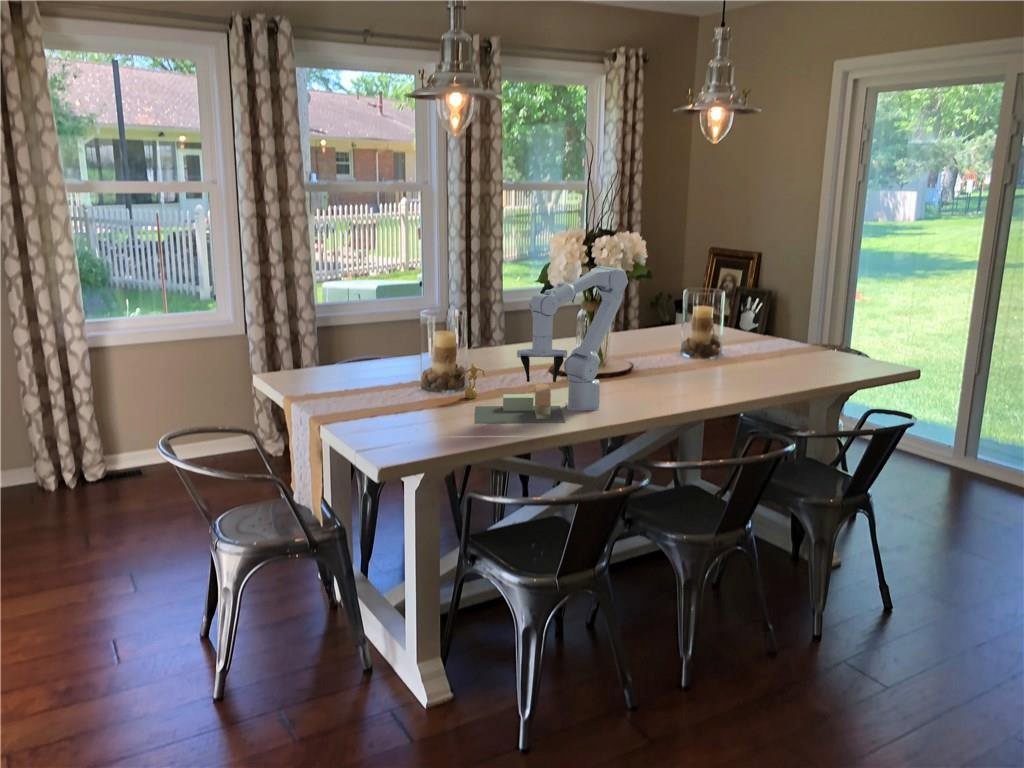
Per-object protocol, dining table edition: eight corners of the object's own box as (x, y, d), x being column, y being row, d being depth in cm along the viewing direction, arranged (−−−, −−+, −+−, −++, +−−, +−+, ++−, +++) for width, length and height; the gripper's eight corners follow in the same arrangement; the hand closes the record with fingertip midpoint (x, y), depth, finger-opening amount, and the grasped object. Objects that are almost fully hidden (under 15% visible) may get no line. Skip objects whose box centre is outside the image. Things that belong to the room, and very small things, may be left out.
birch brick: (548, 409, 251) (548, 397, 250) (550, 418, 242) (550, 405, 241) (534, 409, 251) (534, 397, 250) (536, 418, 242) (536, 405, 241)
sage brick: (532, 406, 254) (532, 394, 253) (533, 410, 250) (533, 397, 249) (503, 407, 254) (503, 394, 253) (503, 410, 250) (503, 397, 249)
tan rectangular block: (548, 397, 250) (548, 384, 249) (550, 405, 241) (550, 391, 240) (535, 397, 250) (535, 384, 249) (536, 405, 241) (536, 392, 240)
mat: (560, 406, 256) (560, 405, 256) (565, 424, 238) (565, 422, 238) (475, 407, 255) (475, 406, 255) (474, 424, 237) (474, 423, 237)
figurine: (480, 396, 268) (480, 359, 265) (488, 400, 263) (488, 363, 260) (456, 399, 264) (456, 362, 261) (464, 403, 259) (463, 366, 256)
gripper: (518, 337, 237) (517, 384, 240) (568, 338, 237) (567, 384, 241) (517, 333, 244) (516, 378, 247) (566, 334, 244) (564, 379, 247)
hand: (541, 381), depth 244 cm, fingers open, 7 cm apart
